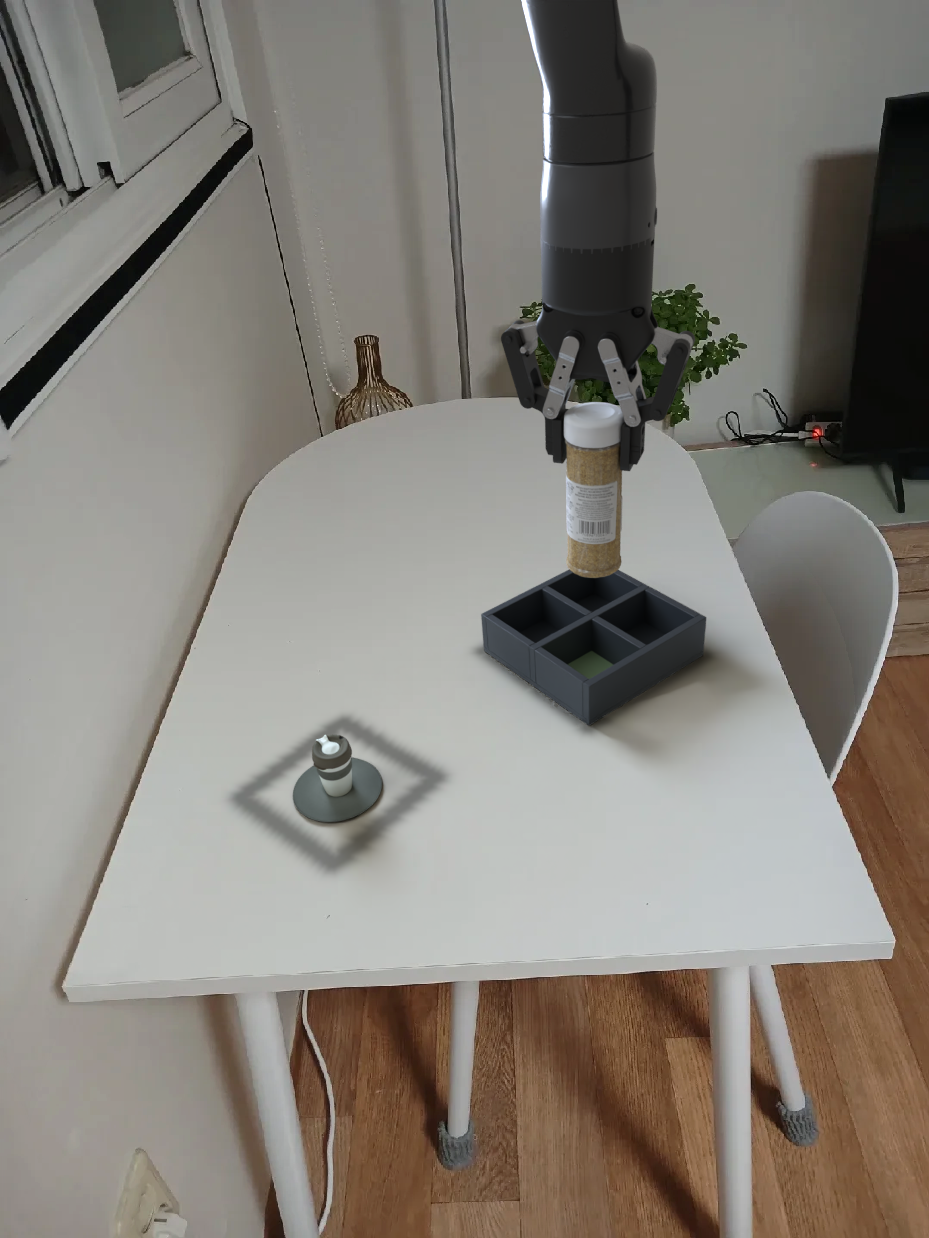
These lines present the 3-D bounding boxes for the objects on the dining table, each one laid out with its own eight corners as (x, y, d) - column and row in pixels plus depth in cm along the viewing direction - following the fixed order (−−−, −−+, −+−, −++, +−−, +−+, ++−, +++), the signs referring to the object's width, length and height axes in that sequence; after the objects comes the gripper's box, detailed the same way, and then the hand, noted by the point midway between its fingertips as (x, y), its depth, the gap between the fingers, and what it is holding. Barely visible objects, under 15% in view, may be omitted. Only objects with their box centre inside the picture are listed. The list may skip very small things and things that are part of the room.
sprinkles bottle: (627, 555, 79) (632, 402, 71) (612, 584, 76) (616, 427, 68) (574, 547, 81) (574, 397, 73) (557, 575, 77) (555, 421, 70)
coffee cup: (335, 863, 75) (325, 820, 73) (241, 797, 82) (228, 755, 79) (436, 777, 82) (431, 734, 80) (342, 722, 89) (334, 681, 86)
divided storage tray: (703, 655, 94) (706, 617, 91) (588, 725, 86) (589, 686, 84) (593, 592, 104) (594, 556, 101) (483, 650, 97) (480, 613, 94)
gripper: (476, 241, 63) (489, 474, 73) (695, 247, 58) (678, 496, 68) (514, 213, 68) (521, 433, 78) (716, 217, 63) (698, 451, 73)
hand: (594, 461), depth 73 cm, fingers closed on sprinkles bottle, 4 cm apart
